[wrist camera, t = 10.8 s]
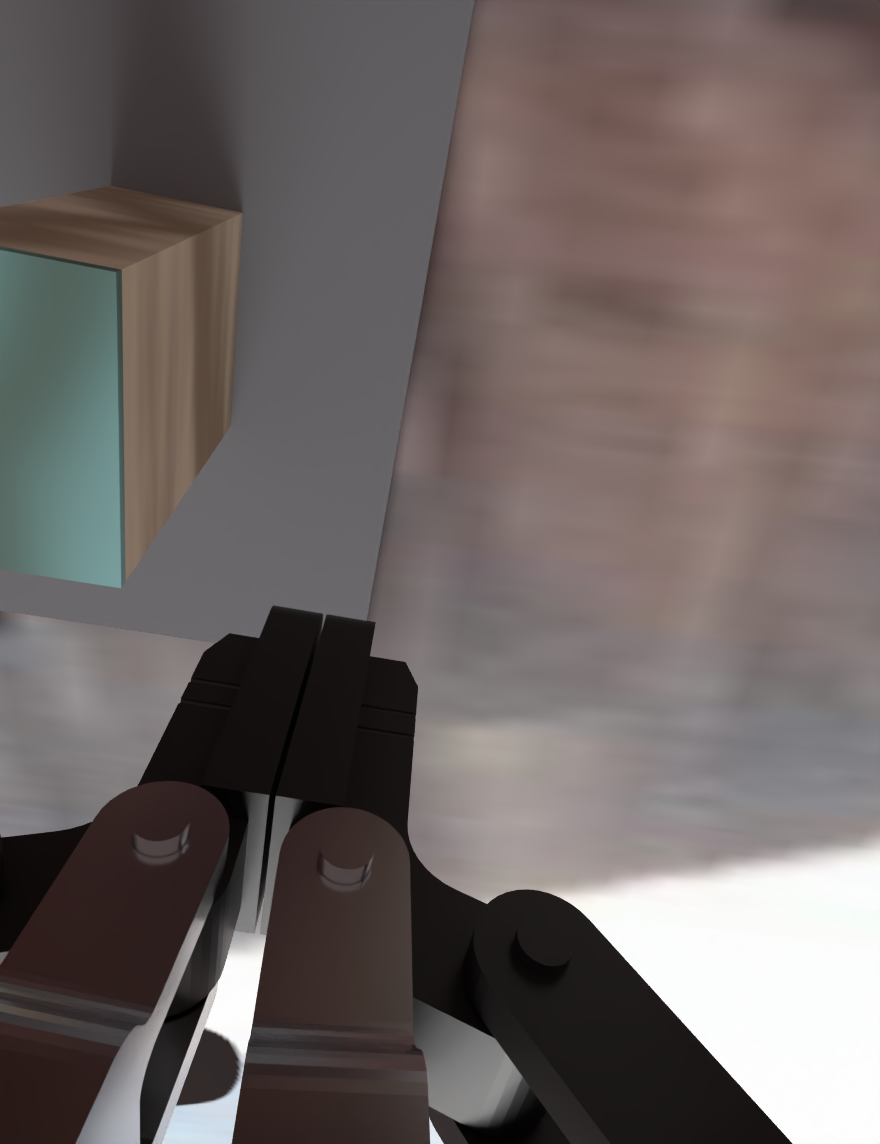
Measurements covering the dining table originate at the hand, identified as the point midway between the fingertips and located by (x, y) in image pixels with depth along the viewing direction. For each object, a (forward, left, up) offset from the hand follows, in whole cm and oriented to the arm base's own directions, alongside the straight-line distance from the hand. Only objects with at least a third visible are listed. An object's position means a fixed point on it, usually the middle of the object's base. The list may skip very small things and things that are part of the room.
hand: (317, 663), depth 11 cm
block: (+7, 0, -17) cm, 18 cm away
